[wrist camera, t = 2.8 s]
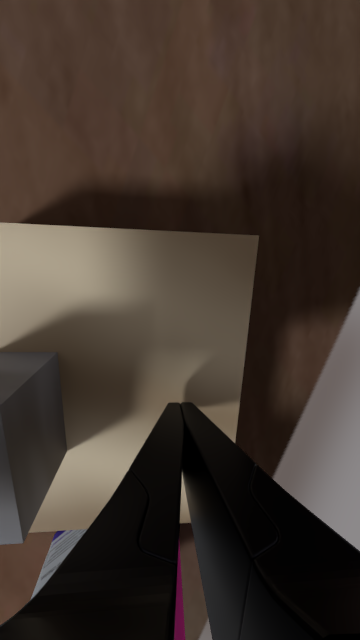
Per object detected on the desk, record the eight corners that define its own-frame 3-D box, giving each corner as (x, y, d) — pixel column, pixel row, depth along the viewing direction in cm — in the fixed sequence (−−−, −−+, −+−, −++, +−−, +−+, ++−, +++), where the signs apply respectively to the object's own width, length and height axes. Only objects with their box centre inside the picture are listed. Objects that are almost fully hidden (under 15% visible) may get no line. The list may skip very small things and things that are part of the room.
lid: (221, 502, 11) (251, 619, 8) (-2, 514, 10) (-89, 654, 7) (249, 237, 8) (321, 221, 5) (-61, 222, 7) (-277, 188, 4)
